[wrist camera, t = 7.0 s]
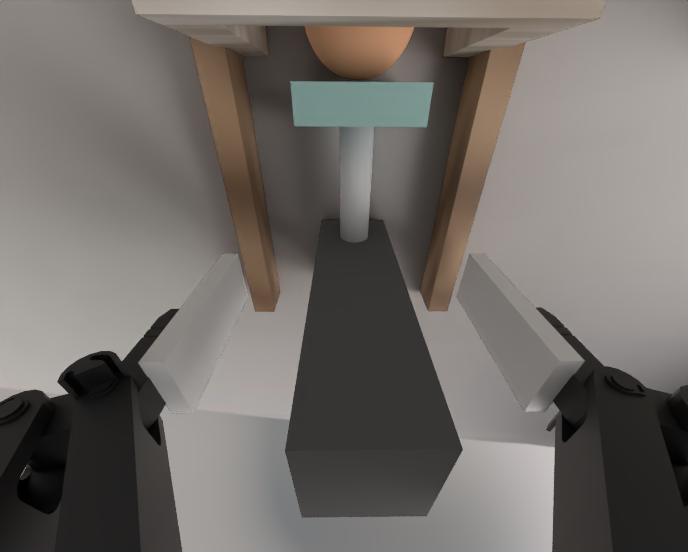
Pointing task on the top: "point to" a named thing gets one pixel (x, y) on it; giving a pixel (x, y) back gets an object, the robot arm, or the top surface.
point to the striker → (364, 336)
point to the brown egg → (358, 48)
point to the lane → (363, 11)
